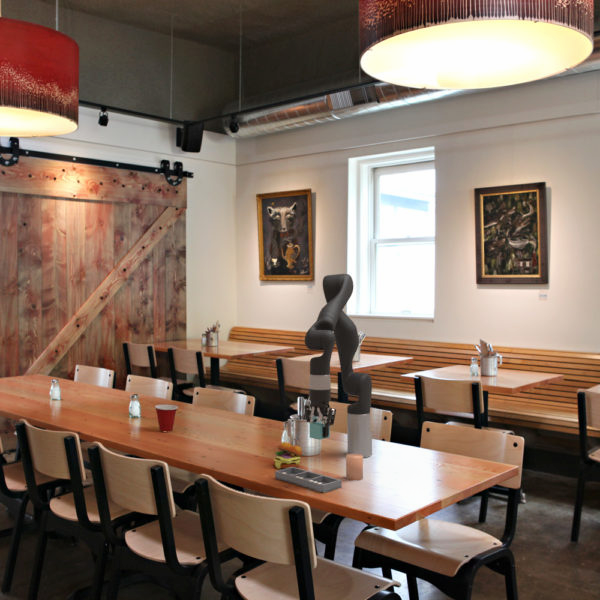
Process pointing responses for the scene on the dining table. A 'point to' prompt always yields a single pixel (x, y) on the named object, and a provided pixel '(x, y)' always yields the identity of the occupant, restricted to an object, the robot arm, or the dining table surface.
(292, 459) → the cheeseburger
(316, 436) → the teal block
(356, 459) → the terracotta jar
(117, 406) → the dining table surface
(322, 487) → the slot tray
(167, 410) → the plastic cup
